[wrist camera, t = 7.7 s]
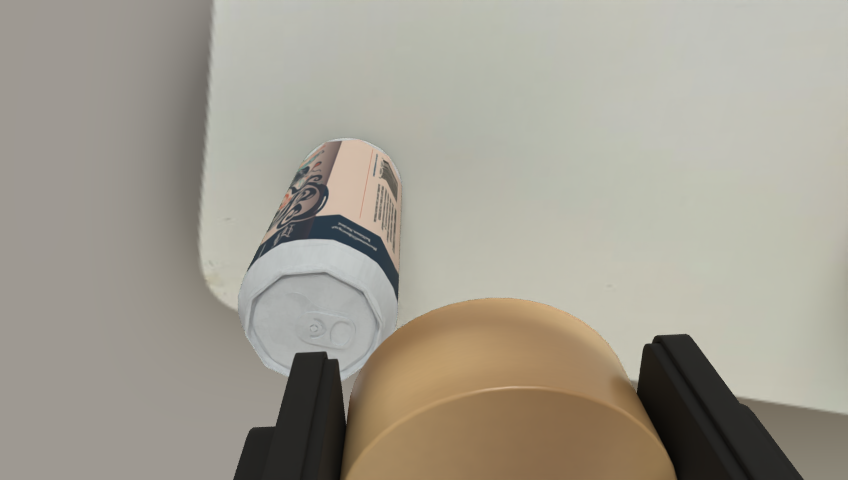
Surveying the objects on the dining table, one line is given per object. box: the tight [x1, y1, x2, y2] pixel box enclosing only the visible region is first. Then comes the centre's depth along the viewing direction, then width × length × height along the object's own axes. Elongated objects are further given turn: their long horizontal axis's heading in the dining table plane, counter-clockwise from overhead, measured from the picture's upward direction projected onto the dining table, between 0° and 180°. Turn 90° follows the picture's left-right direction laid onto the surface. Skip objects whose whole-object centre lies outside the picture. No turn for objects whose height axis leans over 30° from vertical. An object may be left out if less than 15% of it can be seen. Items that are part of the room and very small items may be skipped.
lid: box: [340, 298, 677, 480], centre depth 11 cm, size 6×6×2 cm
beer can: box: [238, 138, 402, 381], centre depth 23 cm, size 5×5×12 cm
